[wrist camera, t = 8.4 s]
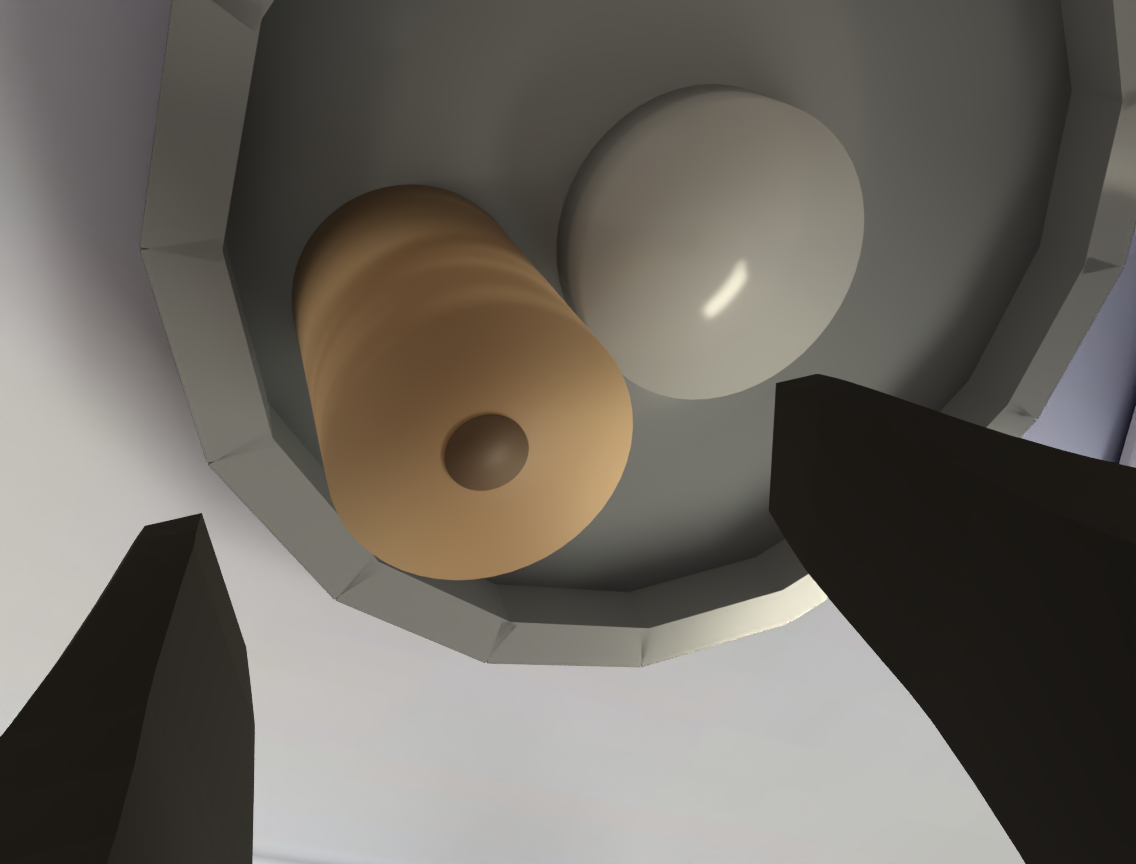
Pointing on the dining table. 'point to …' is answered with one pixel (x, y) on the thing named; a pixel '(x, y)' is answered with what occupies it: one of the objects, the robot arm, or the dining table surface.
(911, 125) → the round tray
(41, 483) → the dining table surface
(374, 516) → the oak bead
